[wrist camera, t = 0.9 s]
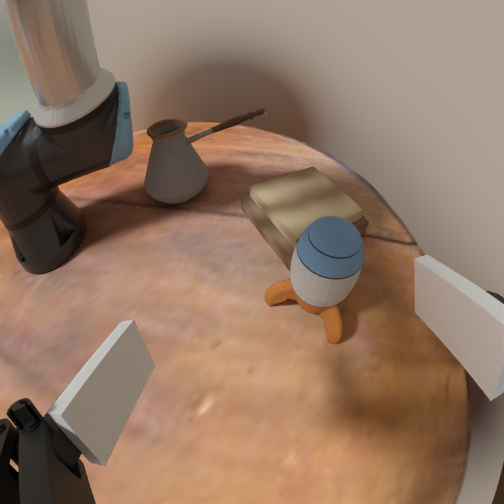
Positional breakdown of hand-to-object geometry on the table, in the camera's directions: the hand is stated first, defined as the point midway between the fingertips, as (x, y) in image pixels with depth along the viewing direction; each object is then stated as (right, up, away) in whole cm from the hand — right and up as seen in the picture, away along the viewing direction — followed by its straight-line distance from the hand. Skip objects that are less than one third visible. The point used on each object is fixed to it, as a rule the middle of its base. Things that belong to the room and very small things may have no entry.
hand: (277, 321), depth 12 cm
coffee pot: (-9, +14, +37) cm, 41 cm away
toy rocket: (+6, -5, +22) cm, 23 cm away
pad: (+7, +8, +32) cm, 33 cm away
